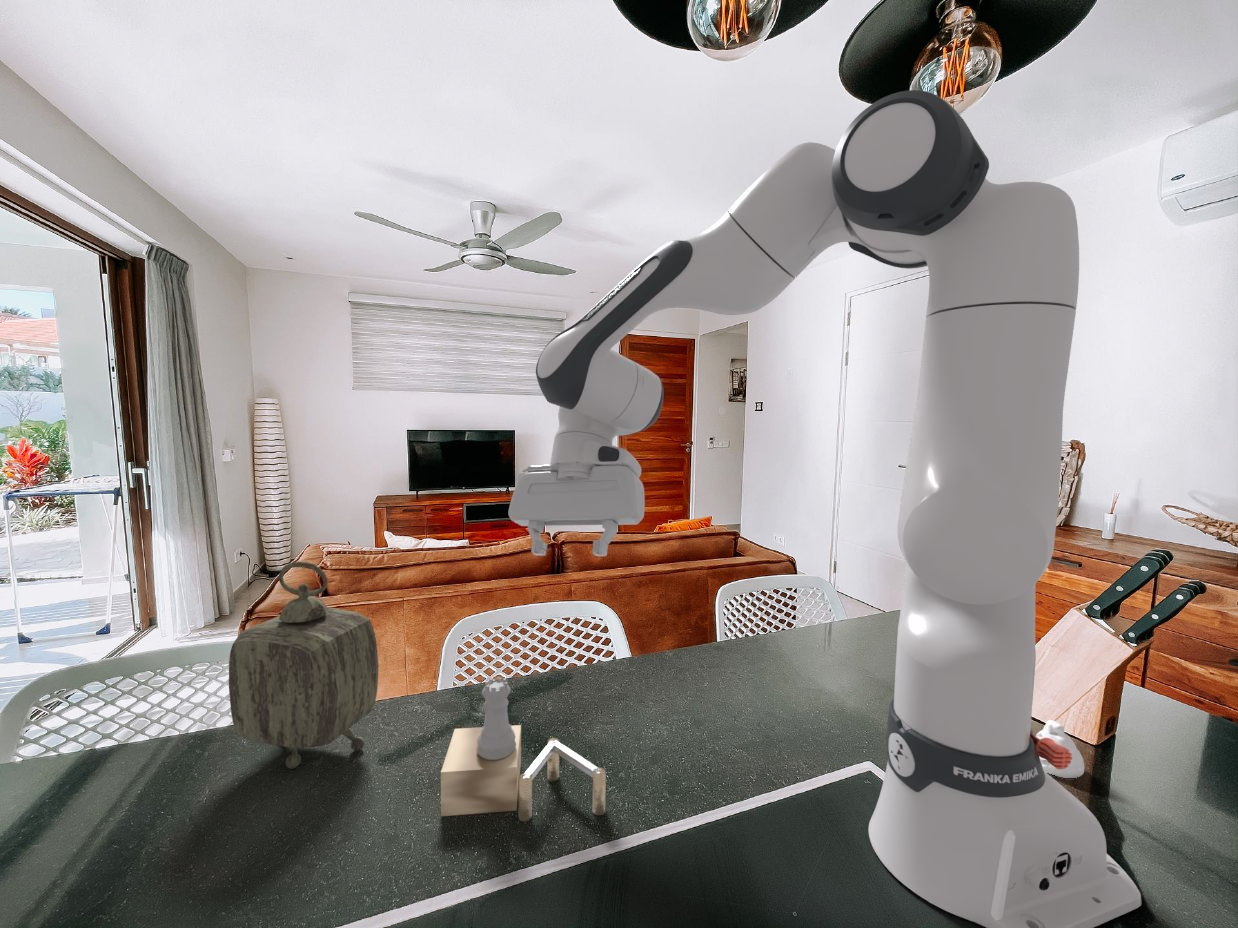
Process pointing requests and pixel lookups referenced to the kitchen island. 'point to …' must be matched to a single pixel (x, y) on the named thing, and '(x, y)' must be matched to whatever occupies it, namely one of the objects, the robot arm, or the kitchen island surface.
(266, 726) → the tabletop clock
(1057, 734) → the garlic bulb
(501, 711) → the rook chess piece
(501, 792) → the pedestal
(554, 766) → the railing
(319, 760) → the kitchen island surface
